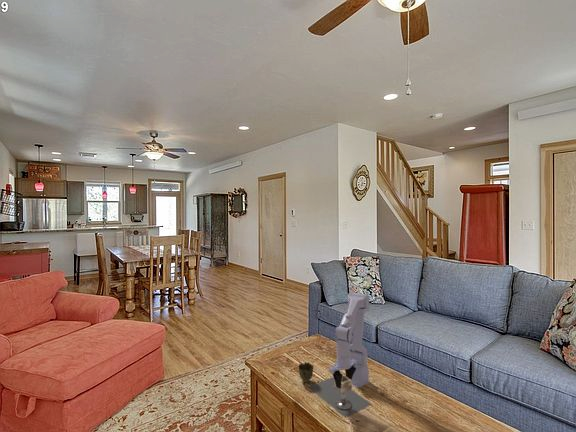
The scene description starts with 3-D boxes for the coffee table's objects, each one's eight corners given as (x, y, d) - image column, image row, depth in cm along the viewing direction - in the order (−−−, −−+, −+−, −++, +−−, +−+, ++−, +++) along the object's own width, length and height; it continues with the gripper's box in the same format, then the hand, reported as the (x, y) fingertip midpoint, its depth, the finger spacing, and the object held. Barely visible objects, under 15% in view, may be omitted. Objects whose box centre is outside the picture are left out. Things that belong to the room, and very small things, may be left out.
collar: (343, 383, 136) (343, 374, 136) (351, 389, 131) (351, 380, 131) (334, 386, 133) (334, 377, 133) (342, 393, 128) (342, 383, 128)
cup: (301, 387, 146) (301, 370, 146) (296, 378, 153) (296, 363, 153) (315, 384, 148) (315, 368, 148) (310, 376, 155) (310, 361, 155)
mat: (333, 377, 154) (333, 376, 154) (372, 405, 132) (372, 404, 132) (308, 387, 146) (308, 386, 146) (345, 418, 124) (345, 417, 124)
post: (343, 398, 137) (343, 385, 137) (354, 406, 131) (354, 393, 131) (332, 403, 133) (332, 390, 133) (342, 412, 127) (342, 398, 127)
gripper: (349, 346, 139) (349, 375, 139) (324, 354, 131) (324, 385, 131) (360, 352, 133) (360, 383, 133) (335, 361, 125) (335, 393, 125)
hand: (343, 385), depth 132 cm, fingers closed on collar, 5 cm apart
